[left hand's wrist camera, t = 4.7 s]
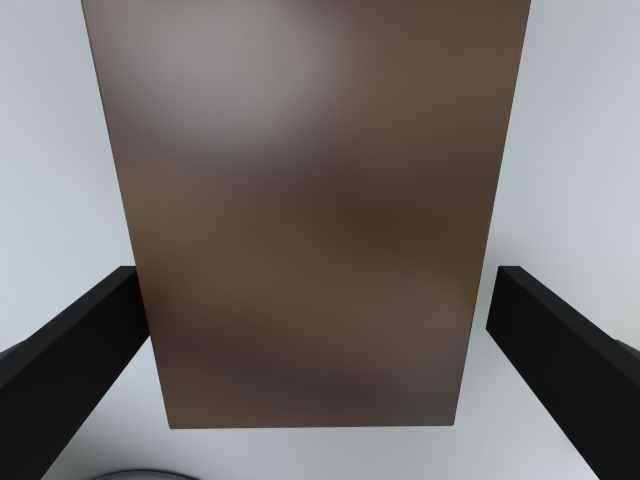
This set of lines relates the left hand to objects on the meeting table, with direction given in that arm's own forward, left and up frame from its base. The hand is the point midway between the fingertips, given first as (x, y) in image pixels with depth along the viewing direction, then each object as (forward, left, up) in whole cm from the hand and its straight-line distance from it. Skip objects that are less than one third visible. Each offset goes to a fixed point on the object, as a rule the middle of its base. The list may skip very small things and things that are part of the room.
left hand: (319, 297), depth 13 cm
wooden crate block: (+5, -1, -7) cm, 9 cm away
